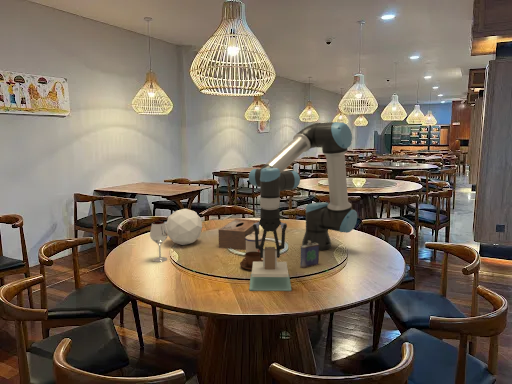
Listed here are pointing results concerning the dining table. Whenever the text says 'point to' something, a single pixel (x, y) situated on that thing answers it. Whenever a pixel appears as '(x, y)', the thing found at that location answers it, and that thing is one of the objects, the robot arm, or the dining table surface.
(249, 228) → the tissue box cover
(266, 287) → the mat
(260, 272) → the lid
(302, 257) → the flask
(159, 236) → the wineglass
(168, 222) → the ball
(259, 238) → the teacup with lid
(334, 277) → the dining table surface
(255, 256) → the cup and saucer
